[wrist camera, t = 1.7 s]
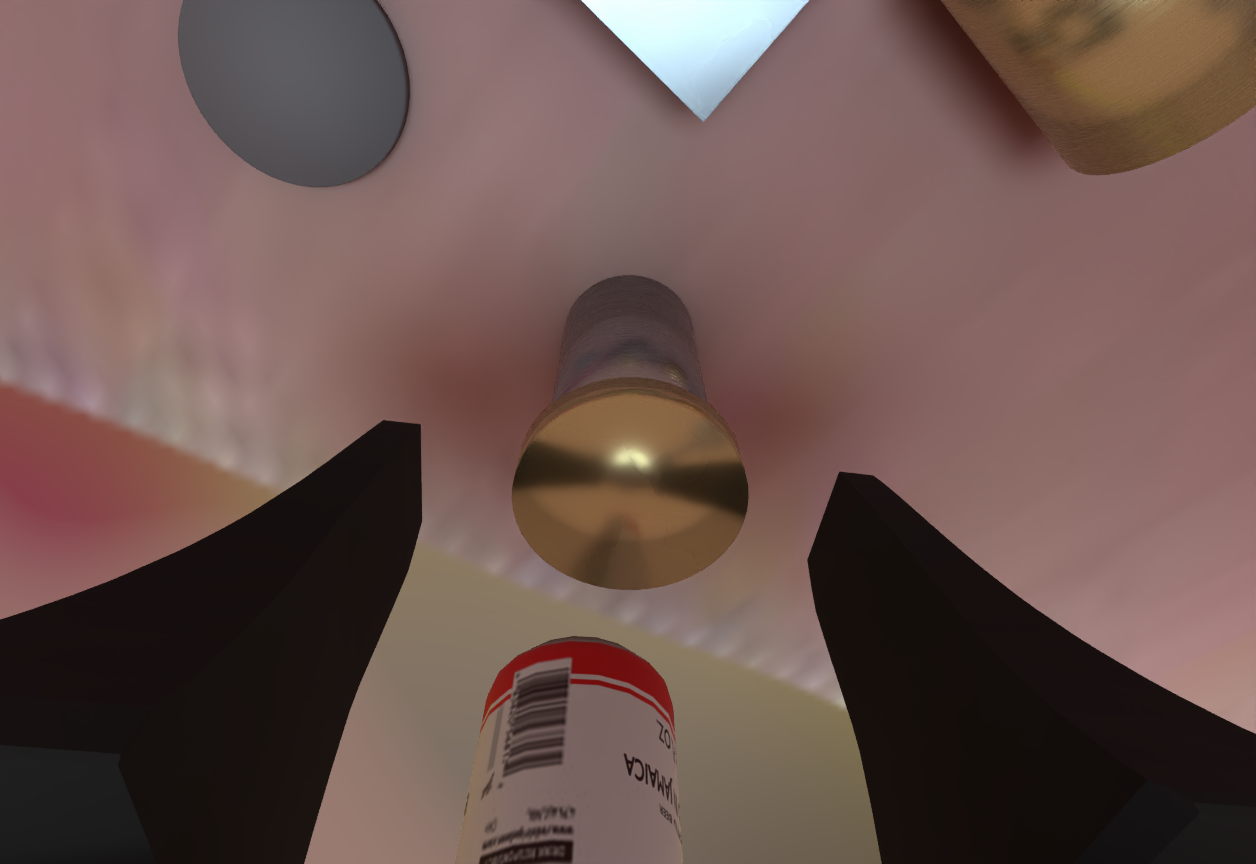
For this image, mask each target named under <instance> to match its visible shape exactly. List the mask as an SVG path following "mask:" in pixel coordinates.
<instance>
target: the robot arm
mask: <svg viewBox="0 0 1256 864" xmlns="http://www.w3.org/2000/svg"><path fill="white" fill-rule="evenodd" d="M421 523H422V482H421V424H412V423H404V422H395V421H386V420H383V421H382V422H380V423H379V424H377V425H376V426H375V427H373V428H372V429H371V430H369V431H368V432H367V433H365V434H364V435H362V436H361V437H360V438H358V439H357V440H356V441H354V442H353V443H352V444H350V445H349V446H348V447H346V448H345V449H344V450H342V451H341V452H340V453H338V454H337V455H336V456H334V457H333V458H332V459H330V460H329V461H328V462H326V463H325V464H323V465H322V466H321V467H319V468H318V469H316V470H315V471H314V472H312V473H311V474H309V475H308V476H307V477H305V478H304V479H302V480H301V481H300V482H298V483H296V484H295V485H293V486H292V487H290V488H289V489H287V490H286V491H284V492H282V493H281V494H279V495H278V496H276V497H275V498H273V499H271V500H270V501H268V502H267V503H265V504H264V505H262V506H261V507H259V508H258V509H256V510H254V511H253V512H251V513H249V514H248V515H246V516H244V517H242V518H241V519H239V520H237V521H235V522H234V523H232V524H230V525H228V526H226V527H225V528H223V529H221V530H219V531H217V532H215V533H213V534H211V535H209V536H208V537H205V538H204V539H201V540H200V541H198V542H196V543H194V544H192V545H190V546H188V547H186V548H184V549H181V550H180V551H177V552H175V553H173V554H170V555H168V556H166V557H164V558H161V559H159V560H157V561H154V562H152V563H150V564H148V565H146V566H143V567H141V568H139V569H136V570H134V571H132V572H130V573H127V574H125V575H123V576H120V577H118V578H116V579H113V580H111V581H108V582H106V583H103V584H100V585H98V586H95V587H93V588H90V589H87V590H85V591H82V592H79V593H77V594H74V595H71V596H69V597H66V598H63V599H60V600H57V601H54V602H52V603H49V604H46V605H43V606H40V607H37V608H34V609H32V610H29V611H25V612H22V613H19V614H17V615H13V616H10V617H7V618H4V619H1V620H0V864H304V862H305V859H306V855H307V851H308V848H309V844H310V841H311V837H312V833H313V830H314V826H315V823H316V820H317V816H318V813H319V809H320V806H321V803H322V799H323V796H324V793H325V789H326V786H327V782H328V779H329V775H330V772H331V769H332V765H333V762H334V759H335V756H336V753H337V750H338V746H339V743H340V740H341V737H342V734H343V730H344V727H345V724H346V720H347V718H348V714H349V711H350V708H351V706H352V703H353V701H354V698H355V695H356V693H357V690H358V687H359V685H360V682H361V680H362V678H363V675H364V673H365V671H366V668H367V666H368V664H369V661H370V659H371V657H372V654H373V652H374V650H375V648H376V645H377V643H378V641H379V638H380V636H381V634H382V631H383V629H384V627H385V624H386V622H387V619H388V617H389V615H390V613H391V611H392V608H393V606H394V603H395V601H396V598H397V596H398V594H399V592H400V589H401V587H402V585H403V582H404V580H405V577H406V575H407V572H408V570H409V566H410V563H411V559H412V556H413V552H414V549H415V545H416V541H417V538H418V534H419V530H420V527H421ZM808 567H809V574H810V580H811V587H812V592H813V598H814V603H815V609H816V613H817V616H818V619H819V623H820V626H821V629H822V632H823V636H824V639H825V642H826V645H827V648H828V651H829V655H830V658H831V661H832V664H833V667H834V670H835V673H836V676H837V679H838V682H839V685H840V688H841V691H842V694H843V698H844V701H845V704H846V707H847V710H848V713H849V716H850V719H851V722H852V725H853V729H854V732H855V736H856V740H857V743H858V747H859V750H860V755H861V760H862V764H863V769H864V774H865V779H866V783H867V788H868V793H869V797H870V803H871V807H872V813H873V818H874V824H875V829H876V834H877V839H878V845H879V851H880V856H881V861H882V864H1256V734H1255V733H1253V732H1250V731H1248V730H1246V729H1244V728H1241V727H1239V726H1237V725H1235V724H1233V723H1231V722H1229V721H1227V720H1225V719H1223V718H1221V717H1219V716H1217V715H1215V714H1213V713H1211V712H1209V711H1207V710H1205V709H1203V708H1201V707H1199V706H1197V705H1195V704H1193V703H1192V702H1190V701H1188V700H1186V699H1184V698H1182V697H1180V696H1178V695H1176V694H1174V693H1172V692H1170V691H1169V690H1167V689H1165V688H1163V687H1161V686H1159V685H1158V684H1156V683H1154V682H1152V681H1150V680H1148V679H1147V678H1145V677H1143V676H1141V675H1139V674H1138V673H1136V672H1134V671H1133V670H1131V669H1129V668H1128V667H1126V666H1124V665H1123V664H1121V663H1119V662H1117V661H1116V660H1114V659H1112V658H1111V657H1109V656H1107V655H1106V654H1104V653H1102V652H1100V651H1099V650H1097V649H1096V648H1094V647H1092V646H1091V645H1089V644H1088V643H1086V642H1084V641H1083V640H1081V639H1080V638H1078V637H1077V636H1075V635H1073V634H1072V633H1070V632H1069V631H1068V630H1066V629H1065V628H1063V627H1062V626H1060V625H1059V624H1057V623H1056V622H1054V621H1053V620H1051V619H1050V618H1048V617H1047V616H1045V615H1044V614H1043V613H1041V612H1040V611H1038V610H1037V609H1035V608H1034V607H1032V606H1031V605H1030V604H1028V603H1027V602H1026V601H1024V600H1023V599H1021V598H1020V597H1019V596H1017V595H1016V594H1015V593H1013V592H1012V591H1011V590H1010V589H1008V588H1007V587H1006V586H1004V585H1003V584H1002V583H1001V582H999V581H998V580H997V579H995V578H994V577H993V576H992V575H990V574H989V573H988V572H987V571H985V570H984V569H983V568H982V567H980V566H979V565H978V564H977V563H975V562H974V561H973V560H972V559H971V558H969V557H968V556H967V555H966V554H965V553H963V552H962V551H961V550H960V549H959V548H957V547H956V546H955V545H954V544H953V543H952V542H951V541H949V540H948V539H947V538H946V537H945V536H944V535H942V534H941V533H940V532H939V531H938V530H937V529H936V528H934V527H933V526H932V525H931V524H930V523H929V522H928V521H926V520H925V519H924V518H923V517H922V516H921V515H920V514H919V513H917V512H916V511H915V510H914V509H913V508H912V507H911V506H910V505H908V504H907V503H906V502H905V501H904V500H903V499H902V498H900V497H899V496H898V495H897V494H896V493H895V492H893V491H892V490H891V489H890V488H889V487H887V486H886V485H885V484H884V483H882V482H881V481H880V480H878V479H877V478H876V477H874V476H873V475H864V474H855V473H846V472H839V474H838V477H837V479H836V482H835V485H834V488H833V491H832V493H831V496H830V499H829V502H828V504H827V507H826V510H825V513H824V515H823V518H822V521H821V524H820V527H819V529H818V532H817V535H816V538H815V540H814V543H813V546H812V549H811V551H810V554H809V557H808Z"/></svg>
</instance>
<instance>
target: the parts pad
mask: <svg viewBox="0 0 1256 864" xmlns="http://www.w3.org/2000/svg"><path fill="white" fill-rule="evenodd" d="M178 43H179V53H180V59H181V65H182V69H183V72H184V76H185V79H186V82H187V85H188V87H189V90H190V92H191V94H192V97H193V99H194V101H195V103H196V105H197V106H198V108H199V110H200V112H201V114H202V115H203V117H204V118H205V119H206V121H207V122H208V124H209V125H210V127H211V128H212V129H213V130H214V132H215V133H216V134H217V135H218V137H219V138H220V139H221V140H222V141H223V142H224V143H225V144H226V145H227V146H228V147H229V148H230V149H231V150H232V151H233V152H234V153H236V154H237V155H238V156H239V157H241V158H242V159H243V160H244V161H246V162H247V163H249V164H250V165H252V166H253V167H255V168H256V169H258V170H260V171H262V172H264V173H265V174H267V175H269V176H271V177H274V178H276V179H279V180H282V181H284V182H288V183H292V184H296V185H301V186H308V187H329V186H336V185H340V184H344V183H347V182H350V181H352V180H355V179H357V178H359V177H361V176H363V175H364V174H366V173H367V172H369V171H370V170H371V169H373V168H374V167H376V166H377V165H378V164H379V163H380V162H381V161H382V160H383V159H385V158H386V156H387V155H388V154H389V153H390V151H391V150H392V149H393V148H394V146H395V144H396V142H397V141H398V139H399V137H400V135H401V132H402V130H403V127H404V124H405V121H406V116H407V112H408V104H409V77H408V71H407V64H406V60H405V57H404V53H403V49H402V46H401V44H400V41H399V39H398V36H397V33H396V31H395V30H394V28H393V26H392V24H391V22H390V20H389V18H388V16H387V15H386V13H385V12H384V10H383V9H382V7H381V6H380V4H379V3H378V1H377V0H183V3H182V7H181V12H180V17H179V27H178Z"/></svg>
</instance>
